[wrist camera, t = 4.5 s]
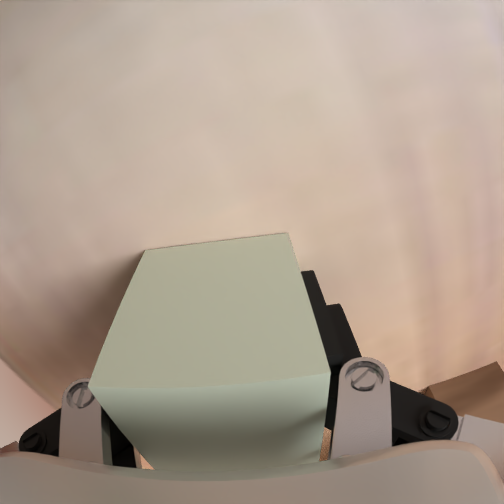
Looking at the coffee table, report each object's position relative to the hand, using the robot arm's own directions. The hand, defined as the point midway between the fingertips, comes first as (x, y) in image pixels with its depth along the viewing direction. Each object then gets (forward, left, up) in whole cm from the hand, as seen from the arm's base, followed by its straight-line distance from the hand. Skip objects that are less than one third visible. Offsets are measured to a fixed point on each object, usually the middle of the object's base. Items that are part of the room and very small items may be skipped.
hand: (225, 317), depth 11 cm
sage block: (0, 0, -1) cm, 1 cm away
